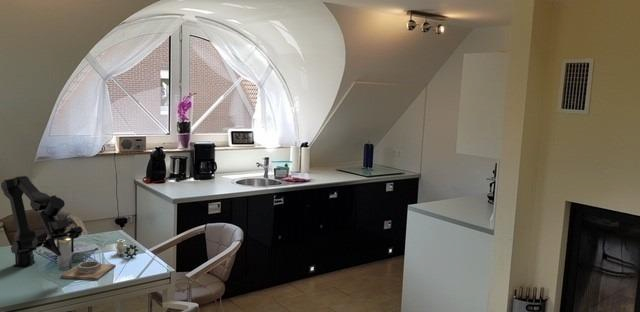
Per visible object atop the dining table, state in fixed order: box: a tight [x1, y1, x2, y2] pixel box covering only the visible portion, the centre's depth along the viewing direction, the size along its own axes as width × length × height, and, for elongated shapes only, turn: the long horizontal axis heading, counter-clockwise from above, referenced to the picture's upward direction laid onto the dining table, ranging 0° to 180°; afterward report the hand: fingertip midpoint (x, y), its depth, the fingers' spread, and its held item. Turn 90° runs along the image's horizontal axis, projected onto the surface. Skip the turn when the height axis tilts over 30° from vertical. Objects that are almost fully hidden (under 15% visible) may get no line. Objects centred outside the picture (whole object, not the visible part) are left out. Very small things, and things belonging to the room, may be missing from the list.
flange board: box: [60, 260, 117, 281], centre depth 220 cm, size 16×16×4 cm
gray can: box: [56, 237, 73, 272], centre depth 205 cm, size 5×5×12 cm
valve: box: [116, 239, 139, 259], centre depth 243 cm, size 7×7×12 cm
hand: (66, 253), depth 205 cm, fingers closed on gray can, 5 cm apart
